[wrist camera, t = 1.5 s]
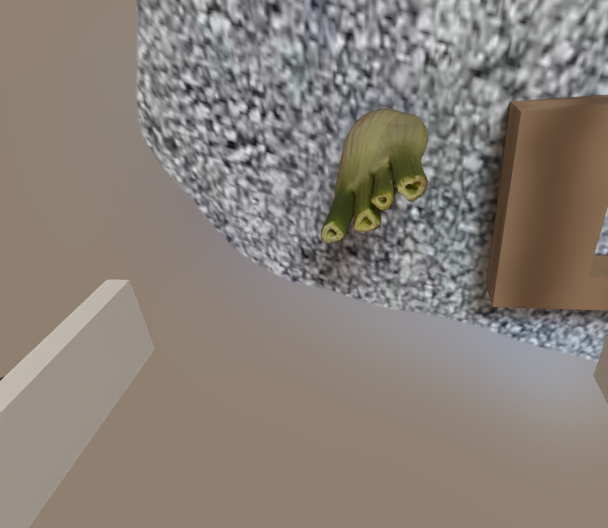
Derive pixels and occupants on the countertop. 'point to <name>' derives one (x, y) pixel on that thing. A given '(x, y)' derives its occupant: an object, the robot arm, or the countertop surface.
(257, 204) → the countertop surface
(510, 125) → the jig block
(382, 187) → the fennel bulb
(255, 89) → the countertop surface
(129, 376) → the robot arm
